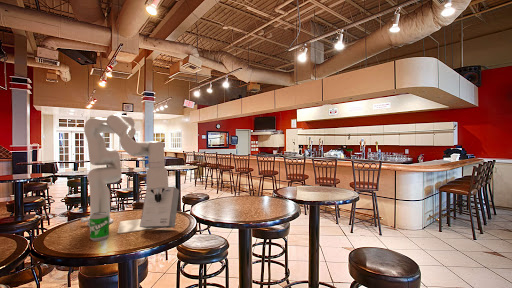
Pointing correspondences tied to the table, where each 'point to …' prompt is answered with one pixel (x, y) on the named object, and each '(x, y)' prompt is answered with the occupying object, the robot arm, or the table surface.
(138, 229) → the board
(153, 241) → the table surface
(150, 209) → the hard drive box
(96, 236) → the soda can
